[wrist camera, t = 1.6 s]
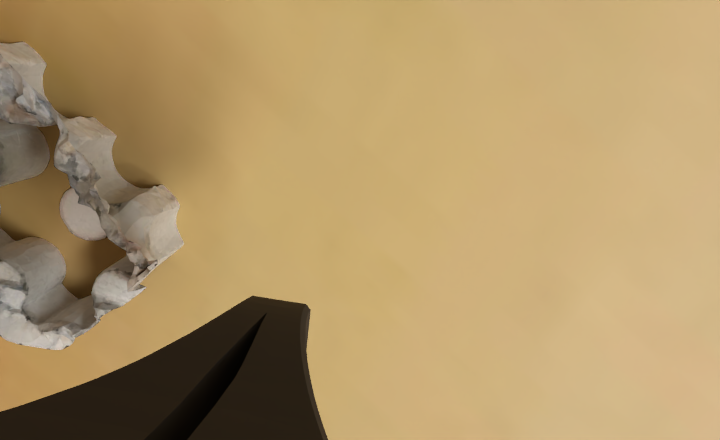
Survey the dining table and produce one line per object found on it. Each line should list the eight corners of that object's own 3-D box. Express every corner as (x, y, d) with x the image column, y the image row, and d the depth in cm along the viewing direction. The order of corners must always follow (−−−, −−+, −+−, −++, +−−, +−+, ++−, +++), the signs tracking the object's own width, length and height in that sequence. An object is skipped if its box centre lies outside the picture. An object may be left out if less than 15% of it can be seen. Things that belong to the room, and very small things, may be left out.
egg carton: (216, 232, 18) (166, 275, 14) (93, 326, 20) (19, 387, 16) (13, -2, 16) (-112, -27, 12) (-104, 128, 18) (-245, 143, 14)
